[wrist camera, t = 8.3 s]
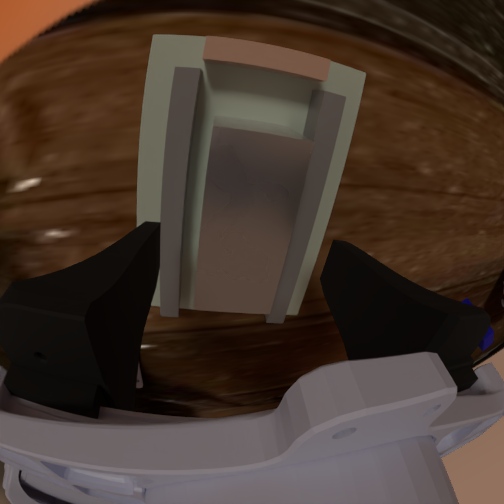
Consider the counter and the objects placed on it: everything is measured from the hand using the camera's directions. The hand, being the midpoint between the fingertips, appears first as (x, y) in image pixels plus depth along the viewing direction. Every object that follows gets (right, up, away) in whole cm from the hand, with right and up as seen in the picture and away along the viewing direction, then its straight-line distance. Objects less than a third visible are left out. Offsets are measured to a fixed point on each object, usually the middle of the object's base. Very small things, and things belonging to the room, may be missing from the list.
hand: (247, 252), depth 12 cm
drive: (-1, +3, +5) cm, 6 cm away
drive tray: (-1, +4, +6) cm, 7 cm away
